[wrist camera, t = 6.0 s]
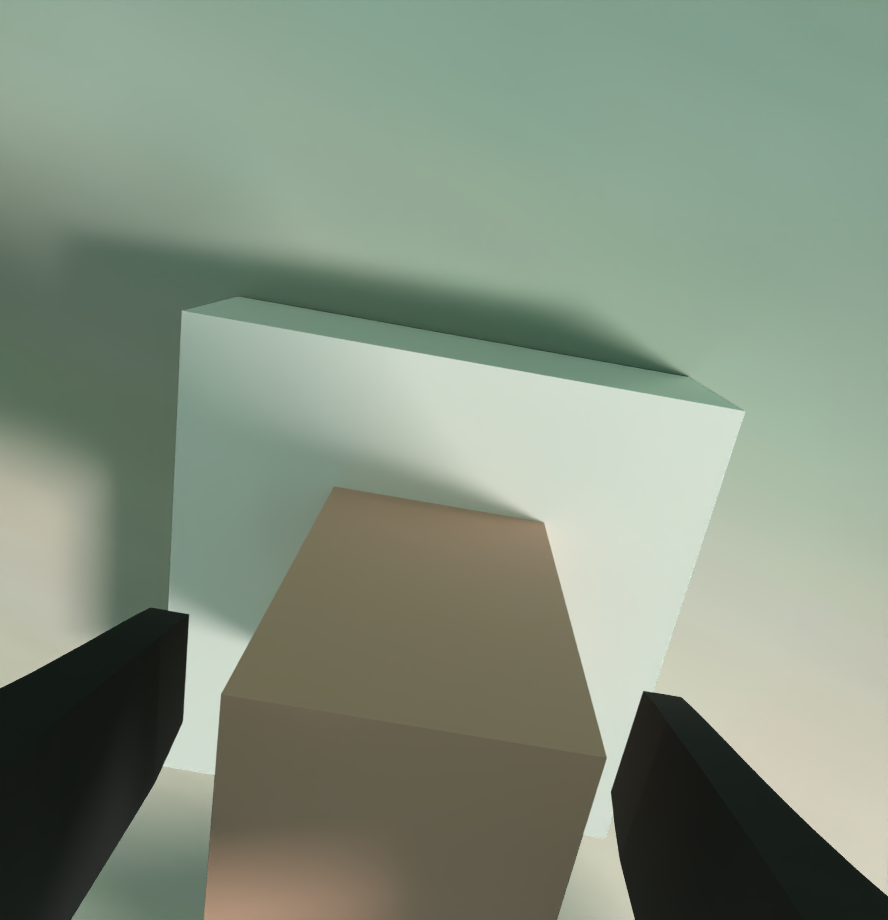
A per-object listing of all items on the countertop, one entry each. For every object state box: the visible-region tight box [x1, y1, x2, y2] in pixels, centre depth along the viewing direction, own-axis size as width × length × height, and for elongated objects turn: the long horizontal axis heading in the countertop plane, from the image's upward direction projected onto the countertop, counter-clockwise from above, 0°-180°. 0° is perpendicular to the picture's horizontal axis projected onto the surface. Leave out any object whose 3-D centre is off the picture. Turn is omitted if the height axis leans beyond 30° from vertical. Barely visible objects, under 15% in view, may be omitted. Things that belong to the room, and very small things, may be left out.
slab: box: [163, 296, 745, 839], centre depth 15 cm, size 10×10×3 cm
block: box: [204, 486, 607, 920], centre depth 10 cm, size 4×4×6 cm
